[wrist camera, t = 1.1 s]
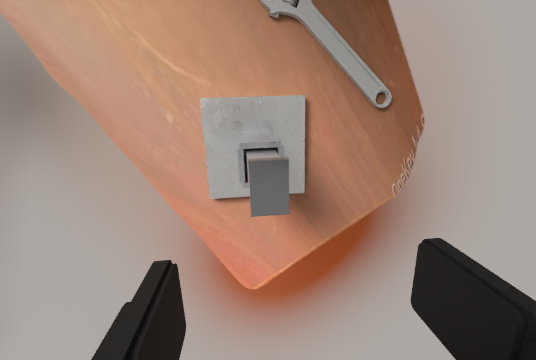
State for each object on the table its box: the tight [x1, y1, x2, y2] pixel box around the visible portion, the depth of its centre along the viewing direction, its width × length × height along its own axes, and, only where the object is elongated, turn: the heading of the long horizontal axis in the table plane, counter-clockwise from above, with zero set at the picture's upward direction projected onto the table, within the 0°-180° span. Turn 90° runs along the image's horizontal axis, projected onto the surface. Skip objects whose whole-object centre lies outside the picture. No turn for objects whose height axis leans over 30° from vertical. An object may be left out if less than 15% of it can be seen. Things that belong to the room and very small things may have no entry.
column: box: [245, 148, 289, 217], centre depth 28 cm, size 4×3×18 cm
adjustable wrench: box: [259, 0, 392, 108], centre depth 35 cm, size 25×6×2 cm, turn 43°
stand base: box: [200, 95, 305, 199], centre depth 33 cm, size 14×14×12 cm
